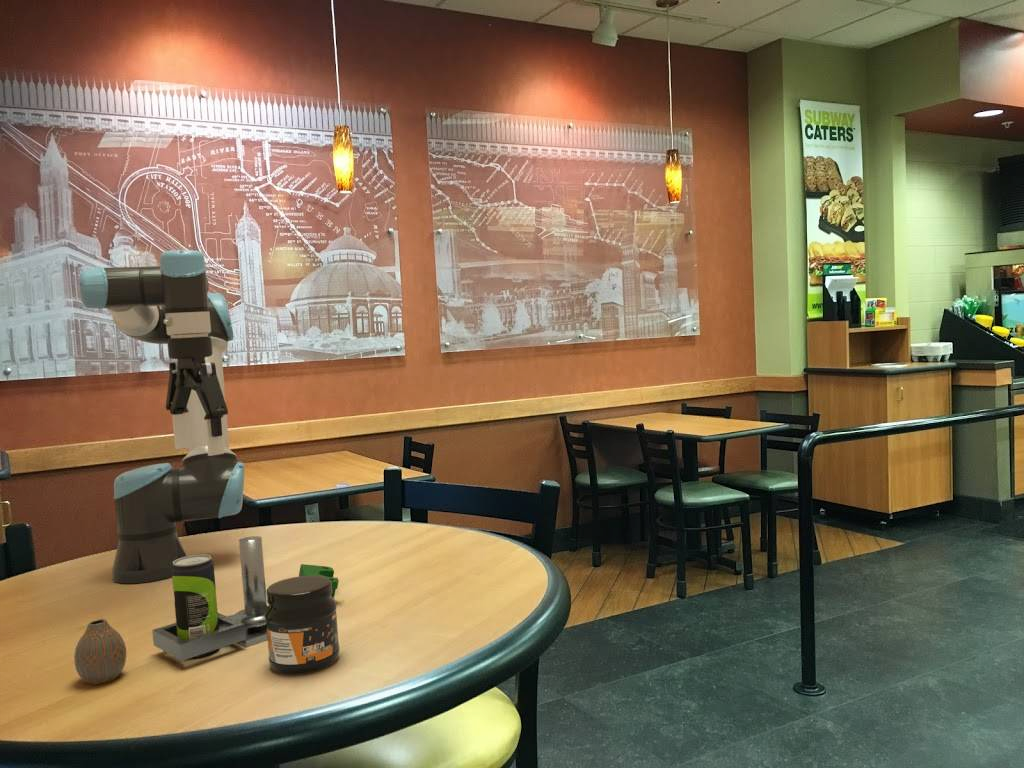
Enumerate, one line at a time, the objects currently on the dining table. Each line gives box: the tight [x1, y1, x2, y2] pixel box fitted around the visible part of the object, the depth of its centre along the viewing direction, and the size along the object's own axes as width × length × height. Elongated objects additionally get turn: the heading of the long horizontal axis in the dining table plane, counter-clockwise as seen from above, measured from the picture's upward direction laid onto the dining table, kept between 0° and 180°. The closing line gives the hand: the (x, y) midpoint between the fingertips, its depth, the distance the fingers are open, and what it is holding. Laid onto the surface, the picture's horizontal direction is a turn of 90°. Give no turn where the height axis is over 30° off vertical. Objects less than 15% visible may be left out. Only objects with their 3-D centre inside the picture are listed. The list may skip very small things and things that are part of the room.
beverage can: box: [171, 554, 219, 659], centre depth 130 cm, size 6×6×15 cm
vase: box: [73, 618, 127, 685], centre depth 121 cm, size 7×7×9 cm
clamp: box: [298, 563, 340, 599], centre depth 153 cm, size 12×6×9 cm, turn 14°
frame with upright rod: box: [151, 535, 268, 662], centre depth 133 cm, size 10×20×16 cm, turn 136°
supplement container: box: [265, 575, 340, 675], centre depth 123 cm, size 10×10×12 cm
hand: (199, 451), depth 150 cm, fingers open, 13 cm apart
